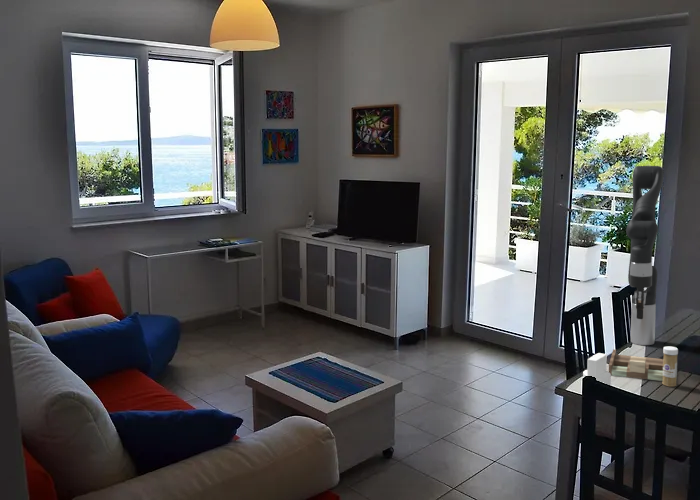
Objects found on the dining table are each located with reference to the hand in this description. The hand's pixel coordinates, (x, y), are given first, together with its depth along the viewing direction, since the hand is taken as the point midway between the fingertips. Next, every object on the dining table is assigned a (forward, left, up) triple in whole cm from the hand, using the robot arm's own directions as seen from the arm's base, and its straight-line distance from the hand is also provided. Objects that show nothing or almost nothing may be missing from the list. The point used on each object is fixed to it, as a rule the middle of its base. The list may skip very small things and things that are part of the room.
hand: (639, 318), depth 235 cm
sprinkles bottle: (+18, +11, -19) cm, 28 cm away
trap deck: (+5, 0, -19) cm, 19 cm away
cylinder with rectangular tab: (+31, -12, -19) cm, 38 cm away
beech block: (+11, 0, -17) cm, 20 cm away
